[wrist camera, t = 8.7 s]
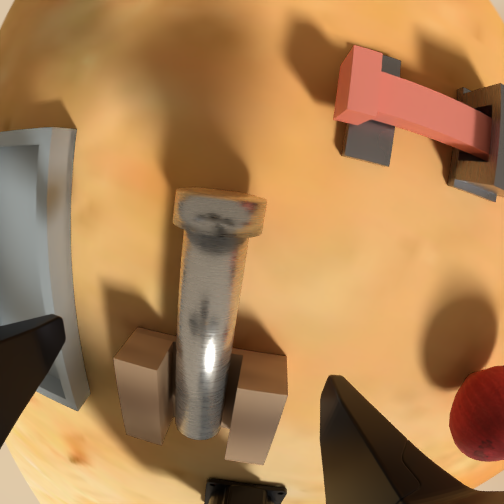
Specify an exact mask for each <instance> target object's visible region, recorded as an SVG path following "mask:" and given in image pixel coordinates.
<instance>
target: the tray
mask: <svg viewBox="0 0 504 504" xmlns="http://www.w3.org/2000/svg"><path fill="white" fill-rule="evenodd" d="M76 132H77V129H70V128H58V127H45V128H33V129H22V130H12V131H4V132H0V326H3V325H7V324H11V323H15V322H20V321H24V320H28V319H32V318H36V317H40V316H45V315H49V314H55V315H58V316H61V317H62V319H63V322H64V328H65V334H66V341H65V343H64V345H63V347H62V349H61V350H60V352H59V354H58V356H57V358H56V359H55V361H54V363H53V365H52V367H51V368H50V370H49V372H48V374H47V375H46V377H45V378H44V380H43V381H42V383H41V384H40V386H39V387H38V389H37V390H36V391H37V392H39V393H40V394H42V395H44V396H46V397H48V398H50V399H52V400H54V401H56V402H58V403H61V404H63V405H65V406H67V407H69V408H71V409H74V410H76V411H79V409H80V408H81V406H82V405H83V404H84V402H85V401H86V399H87V398H88V397H89V395H90V394H91V393H90V389H89V385H88V380H87V376H86V371H85V366H84V361H83V356H82V350H81V344H80V338H79V332H78V325H77V317H76V309H75V300H74V290H73V278H72V262H71V187H72V171H73V159H74V149H75V140H76Z"/></svg>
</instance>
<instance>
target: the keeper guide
mask: <svg viewBox="0 0 504 504" xmlns="http://www.w3.org/2000/svg"><path fill="white" fill-rule="evenodd" d="M400 66H401V61H400V60H397V59H394V58H391V57H388V56H385V55H382V69H381V72H385V73H388V74H391V75H394V76H397V77H400ZM457 101H459V102H461V103H463V104H465V105H467V106H469V107H472V108H474V109H475V110H477V111H479V112H481V113H483V114H485V115H487V116H489V117H491V118H492V125H491V139H490V150H489V159H488V162H487V161H485V160H483V159H480V158H478V157H476V156H474V155H471V154H469V153H467V152H464V151H462V150H459V149H457V148H455V147H453V151H452V158H451V165H450V172H449V178H448V184H447V185H448V186H451V187H454V188H457V189H459V190H462V191H465V192H468V193H470V194H473V195H476V196H478V197H481V198H484V199H486V200H489V201H493V202H496V196H501V197H504V85H503V84H501V83H499V84H496V85H492V86H488V87H485V88H481V89H478V90H474V91H470V90H468V89H466V88H464V87H463V88H460V89H457ZM394 130H395V126H392V125H389V124H386V123H382V122H379V121H375V120H372V119H371V120H368V121H366V122H364V123H362V124H359V125H354V124H350V123H346V130H345V136H344V143H343V149H342V155H341V156H344V157H349V158H353V159H357V160H361V161H365V162H369V163H373V164H377V165H381V166H387V167H389V164H390V157H391V151H392V144H393V137H394Z"/></svg>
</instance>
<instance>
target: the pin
mask: <svg viewBox="0 0 504 504" xmlns="http://www.w3.org/2000/svg"><path fill="white" fill-rule="evenodd" d="M266 205H267V200H266V199H263V198H261V197H258V196H254V195H250V194H245V193H240V192H234V191H228V190H220V189H211V188H196V187H185V188H178V189H176V195H175V204H174V214H173V224H174V225H176V226H177V227H179V228H181V229H184V234H183V245H182V256H181V269H180V283H179V298H178V317H177V340H176V389H175V406H176V426H177V429H178V430H179V431H180V432H181V433H182V434H183V435H184V436H186V437H188V438H191V439H195V440H205V439H209V438H212V437H214V436H215V435H216V434H217V433H218V432H219V430H220V427H221V421H222V414H223V407H224V400H225V393H226V387H227V380H228V373H229V366H230V360H231V353H232V346H233V340H234V333H235V326H236V320H237V313H238V306H239V300H240V293H241V287H242V280H243V273H244V267H245V260H246V254H247V247H248V241H249V237H255V236H259V235H260V234H261V233H262V229H263V223H264V217H265V211H266Z"/></svg>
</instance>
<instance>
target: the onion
mask: <svg viewBox="0 0 504 504" xmlns="http://www.w3.org/2000/svg"><path fill="white" fill-rule="evenodd" d="M449 427H450V430H451V434H452V437H453V439H454V442H455V444H456V445H457V447H458V448H459V449H460V451H461V452H462V453H464V454H465V455H467V456H468V457H470V458H472V459H475V460H479V461H499V460H504V366H494V367H491V368H488V369H485V370H482V371H478V372H473V373H471V374H470V375H469V376H468V377H466V379H465V381H464V382H463V384H462V385H461V387H460V389H459V390H458V392H457V394H456V396H455V399H454V402H453V405H452V408H451V412H450V421H449Z"/></svg>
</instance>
